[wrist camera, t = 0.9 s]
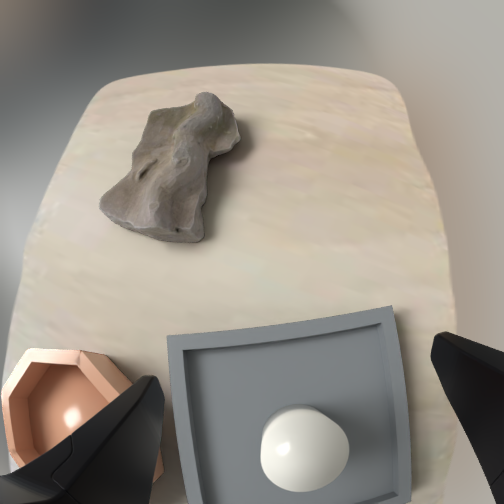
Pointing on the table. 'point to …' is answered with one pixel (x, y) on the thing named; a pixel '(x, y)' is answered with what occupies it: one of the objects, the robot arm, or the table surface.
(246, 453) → the parts tray
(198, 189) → the stone
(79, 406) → the bowl
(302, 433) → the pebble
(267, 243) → the table surface
